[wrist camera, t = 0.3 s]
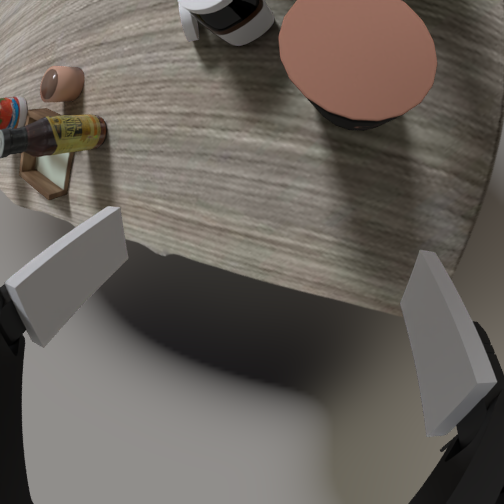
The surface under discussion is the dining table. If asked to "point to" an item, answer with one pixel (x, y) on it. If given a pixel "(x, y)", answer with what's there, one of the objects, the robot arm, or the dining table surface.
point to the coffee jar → (358, 59)
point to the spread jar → (226, 19)
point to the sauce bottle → (54, 136)
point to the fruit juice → (12, 112)
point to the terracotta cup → (61, 84)
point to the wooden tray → (46, 165)
